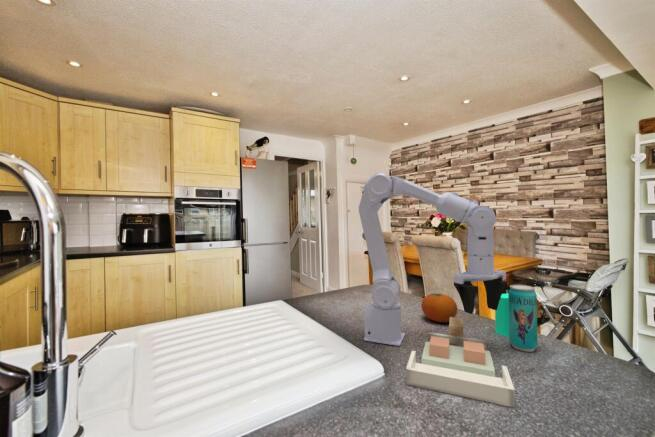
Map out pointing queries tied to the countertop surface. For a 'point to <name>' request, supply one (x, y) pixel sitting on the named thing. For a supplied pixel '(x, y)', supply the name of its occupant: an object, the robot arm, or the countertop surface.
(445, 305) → the fruit
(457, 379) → the tray
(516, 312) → the beverage can
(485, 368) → the board
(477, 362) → the tile right
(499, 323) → the candle
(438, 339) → the tile left
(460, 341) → the scraper
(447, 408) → the countertop surface
